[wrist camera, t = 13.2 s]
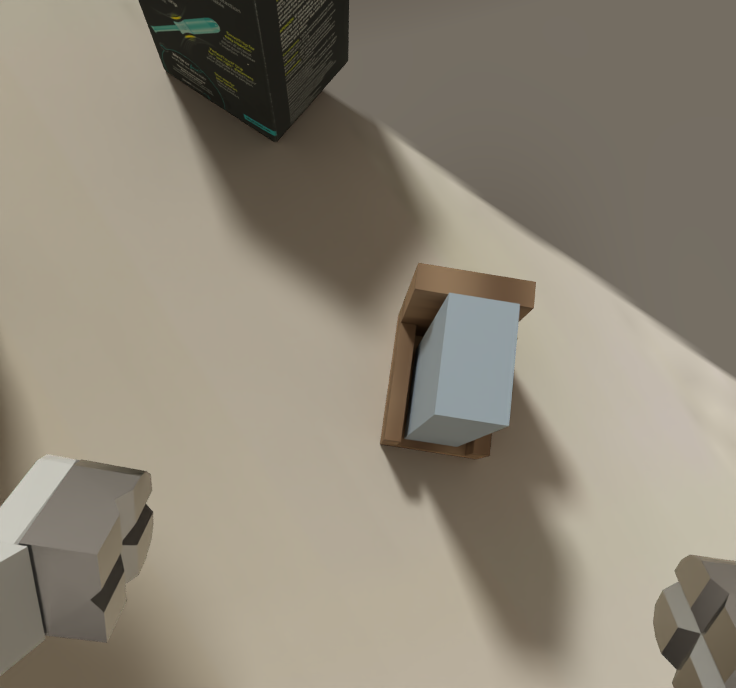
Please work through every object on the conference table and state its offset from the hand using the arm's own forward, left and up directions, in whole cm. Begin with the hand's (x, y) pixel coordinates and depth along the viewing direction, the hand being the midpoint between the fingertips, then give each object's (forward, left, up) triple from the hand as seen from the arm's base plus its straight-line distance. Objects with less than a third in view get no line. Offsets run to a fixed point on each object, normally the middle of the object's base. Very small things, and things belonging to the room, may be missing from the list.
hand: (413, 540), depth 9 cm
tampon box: (-12, +31, -32) cm, 46 cm away
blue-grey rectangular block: (+5, +8, -30) cm, 32 cm away
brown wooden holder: (+5, +9, -31) cm, 33 cm away
